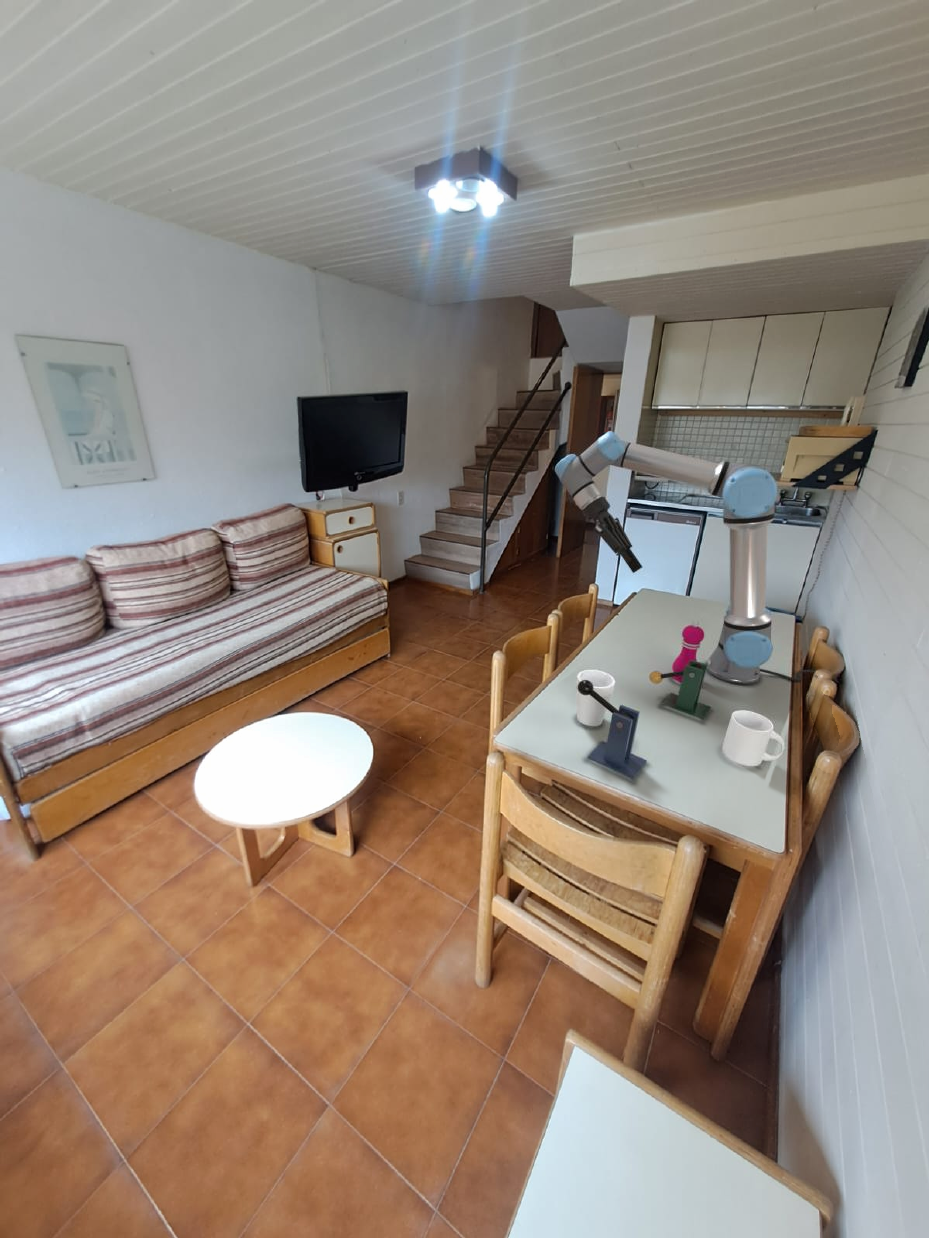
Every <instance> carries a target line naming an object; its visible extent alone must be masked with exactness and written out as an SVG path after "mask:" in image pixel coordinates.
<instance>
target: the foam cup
mask: <svg viewBox="0 0 929 1238" xmlns="http://www.w3.org/2000/svg"><path fill="white" fill-rule="evenodd" d="M582 680H588V681H590V682H591V683H592V684H593V687H594V688H593V690H594V691H595V692H596V693H597V694H599V695H600V696H601V697H602V698H604V699H605V700H606V701H607V702H609V703H610V701H611V697H612V695H613V693H614V691H615V687H616V680H615V678H614V677H613V676H612V675H611V674H609V673H608V672H605V671H602V670H599V669H584V670H582V671H578V674H577V675H576V681H575V685H576V719H577V721H578V722H580V723H581V724H583V725H585V726H588V727H598V726H600V725H602V723H603V721H604V718H605V716H606V715H605V714H606V712H607V709H606V708H605V707H604V706H603V705H601V704H600V703H599V702H598V701H597V700H595V699H594V698H593V697H592V696H590V695H582V694H580V693H579V691H578V684H579V682H581V681H582Z"/></svg>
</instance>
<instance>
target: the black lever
mask: <svg viewBox="0 0 929 1238" xmlns="http://www.w3.org/2000/svg"><path fill="white" fill-rule="evenodd" d="M593 688H594V687H593V684H592V683H591V682H590V681H588V680H582V681H581V682H579V684H578V691H579V693H580V694H582V695H590V696H592V697H593V698H594V699H595V700H597V701H598V702H599V703H600V704H601V705H603V706H604V707H605V708H606V710H608V712H610V713H611V714H613V713H614V712H615V713H618V714H620V715H623V716H625V717H628V718H630V719H633V720H634V718H633V717H632V716H631V715H630V714H629V713H627V712H626V711H625V710H624V711H623V712H622V713H621V712H620V711H619V709H618V708H616V707H615V706H614V705H613V704H611V703H610V701H609V702H607V701H606V700H605V699H604V698H602V697H601V696H600V695H599V694H597V693H596V692H595V691H594V690H593Z"/></svg>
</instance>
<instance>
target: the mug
mask: <svg viewBox="0 0 929 1238" xmlns="http://www.w3.org/2000/svg"><path fill="white" fill-rule="evenodd" d="M770 739H772V740H774V741H777V742H778V743H779V744H780V746H781V751H780V752H779V753H777V754H769V753H767V752H766V751H767V748H768V745H769V742H770ZM785 744H786V743H785V741H784V739H783V738H782V737H781V736H780V734H779V733H778V732H776V731H774V724H773V722H772V721H771V720H770V719H769V718H767V717H766V716H764V715H762V714H760V713H757V712H755V711H751V710H745V709H740V710H735V711H733V712H732V713H731V715H730V720H729V722H728V726H727V729H726V732H725V736H724V739H723V743H722V746H721V752H722V753H723V754H724V756H725V757H726V758H727V759H728V760H731V761H733V763H736V764H739V765H742V766H746V767H756V766H757V767H758V766H760V765H761V764H762V762H763V761H765V762H771V761H775V760H777V759H779V758H781V756H783V753H784V752H785V748H786V745H785Z"/></svg>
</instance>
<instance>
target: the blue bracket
mask: <svg viewBox="0 0 929 1238" xmlns="http://www.w3.org/2000/svg"><path fill="white" fill-rule="evenodd" d="M624 710H625V711H626V712H627V713H629V714H630V715H631V716H632V717H633V718H634V720H633V719H630V718H628V717H625V716H623V715H620V714H618V713H615V712H614V713H611V718H610V724H609V728H608V729H609V730H608V735H607V740H606V741H604V740H601V742H600V743H599V744H598V745H597V746H596V747H595V748H594V749H593V751H591V752H590V754H589V755H588V756H587V759H589V760H591V761H592V762H595V763H597V764H599V765H602V766H603V767H606V768H608V769H610V770H612V771H614V772H617V773H618V774H621V775H623V776H625V777H627V778H629V779H631V780H634V779H635V778H636V777H637V775H638V774H639V773H640V771H641V770H642V768H643V767H644V766H645V764H646V763H647V759H644V758H642V757H640V756H638V755H635V754H633V753H632V752H633V746H634V742H635V737H636V731H637V727H638V722H639V718H640V713H641V712H640V711H639V710H637V709H636V710H635V709H633V708H631V707H629V706H625V705H623V704H620V705H619V707H618V711H620V712H621V713H622V712H623V711H624Z"/></svg>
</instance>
